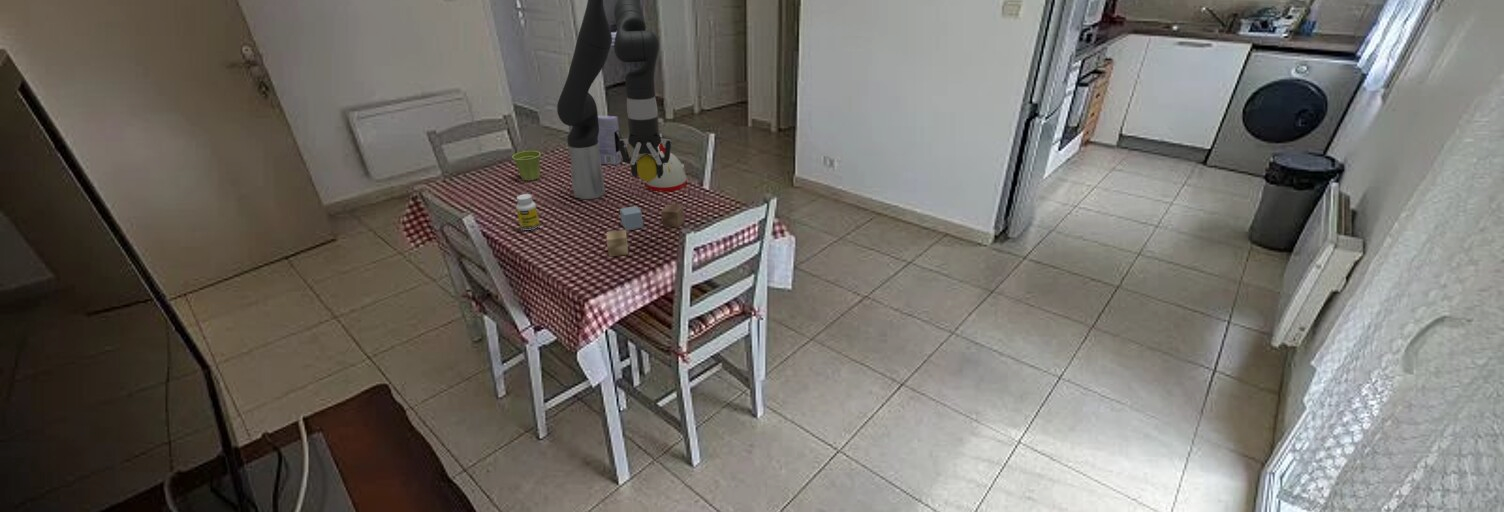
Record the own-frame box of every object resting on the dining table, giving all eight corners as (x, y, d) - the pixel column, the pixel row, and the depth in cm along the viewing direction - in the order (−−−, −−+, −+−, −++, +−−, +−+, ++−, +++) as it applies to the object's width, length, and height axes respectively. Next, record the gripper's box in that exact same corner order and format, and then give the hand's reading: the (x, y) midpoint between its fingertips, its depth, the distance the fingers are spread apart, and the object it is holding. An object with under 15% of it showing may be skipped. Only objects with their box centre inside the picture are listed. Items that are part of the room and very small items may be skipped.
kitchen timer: (652, 194, 196) (647, 150, 189) (641, 181, 207) (637, 139, 200) (692, 188, 201) (689, 144, 194) (679, 175, 212) (676, 133, 205)
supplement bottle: (522, 233, 172) (515, 201, 167) (519, 225, 176) (512, 195, 171) (541, 229, 174) (535, 197, 169) (538, 222, 178) (532, 191, 173)
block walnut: (662, 226, 174) (661, 211, 172) (668, 219, 178) (667, 204, 176) (678, 228, 173) (677, 212, 171) (684, 221, 177) (683, 205, 175)
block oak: (608, 256, 158) (606, 239, 156) (609, 248, 162) (607, 231, 160) (628, 254, 159) (625, 238, 157) (628, 246, 163) (625, 230, 161)
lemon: (661, 179, 162) (658, 150, 158) (655, 186, 157) (653, 157, 153) (641, 178, 162) (638, 150, 159) (635, 185, 158) (632, 156, 154)
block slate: (626, 231, 172) (624, 215, 170) (621, 224, 176) (619, 208, 174) (643, 227, 174) (641, 211, 171) (638, 221, 178) (636, 205, 175)
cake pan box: (625, 161, 226) (619, 115, 218) (620, 165, 222) (614, 118, 213) (578, 158, 229) (571, 113, 221) (572, 163, 225) (564, 116, 217)
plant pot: (540, 183, 207) (535, 159, 203) (513, 183, 207) (507, 159, 203) (548, 173, 215) (544, 150, 211) (522, 174, 215) (517, 150, 211)
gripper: (611, 118, 148) (618, 182, 156) (669, 118, 148) (673, 182, 156) (617, 110, 154) (624, 172, 162) (672, 110, 154) (676, 172, 162)
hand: (648, 176), depth 159 cm, fingers closed on lemon, 5 cm apart
